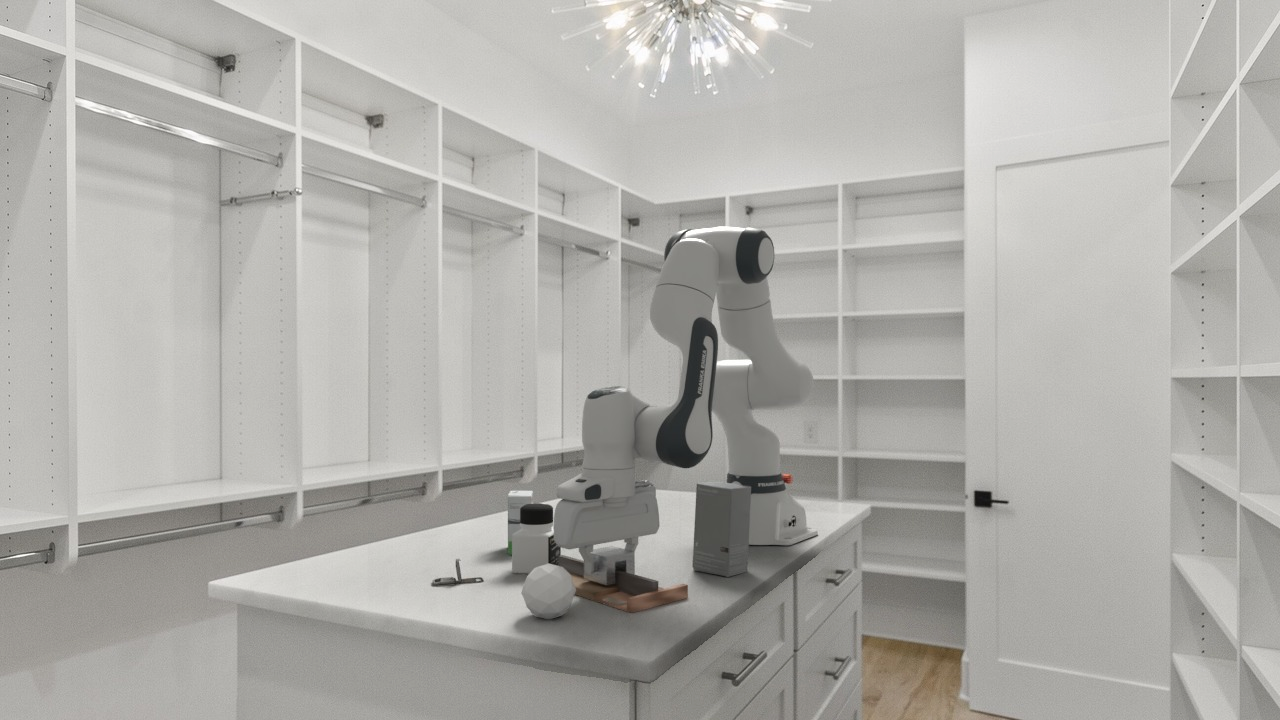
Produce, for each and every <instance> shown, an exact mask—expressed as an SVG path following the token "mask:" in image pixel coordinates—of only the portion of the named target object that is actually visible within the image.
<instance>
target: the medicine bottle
mask: <svg viewBox="0 0 1280 720" xmlns="http://www.w3.org/2000/svg"><path fill="white" fill-rule="evenodd" d="M520 527H521V528H522V529H521V530H519V531H517V532H516V533H514V534H512V554H511V573H512V574H521V575H522V574H523V575H529V574H530V573H531V571H532V570H533V569H534V568H536V567H539V566H542V565H545V564H548V563H549V564H553V565H557V566H558V556H560V555H562V553H561V552H562V551H561V547H558V545H557V544H556V543H555V541H554V507H553V506H552V505H551V504H548V503H544V502H533V503H531V504H526V505H524V506H522V507H521V508H520Z"/></svg>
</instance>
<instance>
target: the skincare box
mask: <svg viewBox="0 0 1280 720" xmlns="http://www.w3.org/2000/svg"><path fill="white" fill-rule="evenodd" d="M695 489H696V492H695V509H694V511H695V513H694V531H693V550H692V570H693V571H696V572H701V573H707V574H711V575H717V576H722V577H727V578H729V577H734V576H736V575H741V574H744V573H747V572H749V570H748V568H749V548H750V546H749V526H750V502H751V487H749V486H743V485H738V484H733V483H727V482H723V481H708V482H707V481H706V482H705V481H704V482H702V481H701V482H698V483H696V488H695Z"/></svg>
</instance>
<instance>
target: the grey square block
mask: <svg viewBox="0 0 1280 720" xmlns="http://www.w3.org/2000/svg"><path fill="white" fill-rule="evenodd" d="M590 553H591V555H592V557H593V559H594V560H595V561H598V571H597V572H593V573H588V572H586V571H585V561H584V560H583V561H584V579H587V580H591V581H594V582H597V583H601V584H604V585H610V584H614V583H615V569H616V570H620V571H623V572H627V573H631V574H634V575H636V574H635V573H636V571H635V570H636V568H635V567H636V566H635V564H636V562H635V560H636V559H635V557H636V556H635V553H636V550H635V551H630V550H626V549H625V548H622V547H617V546H613V545H610V546H605V547H604V546H603V547H598V548H593V552H590Z"/></svg>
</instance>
